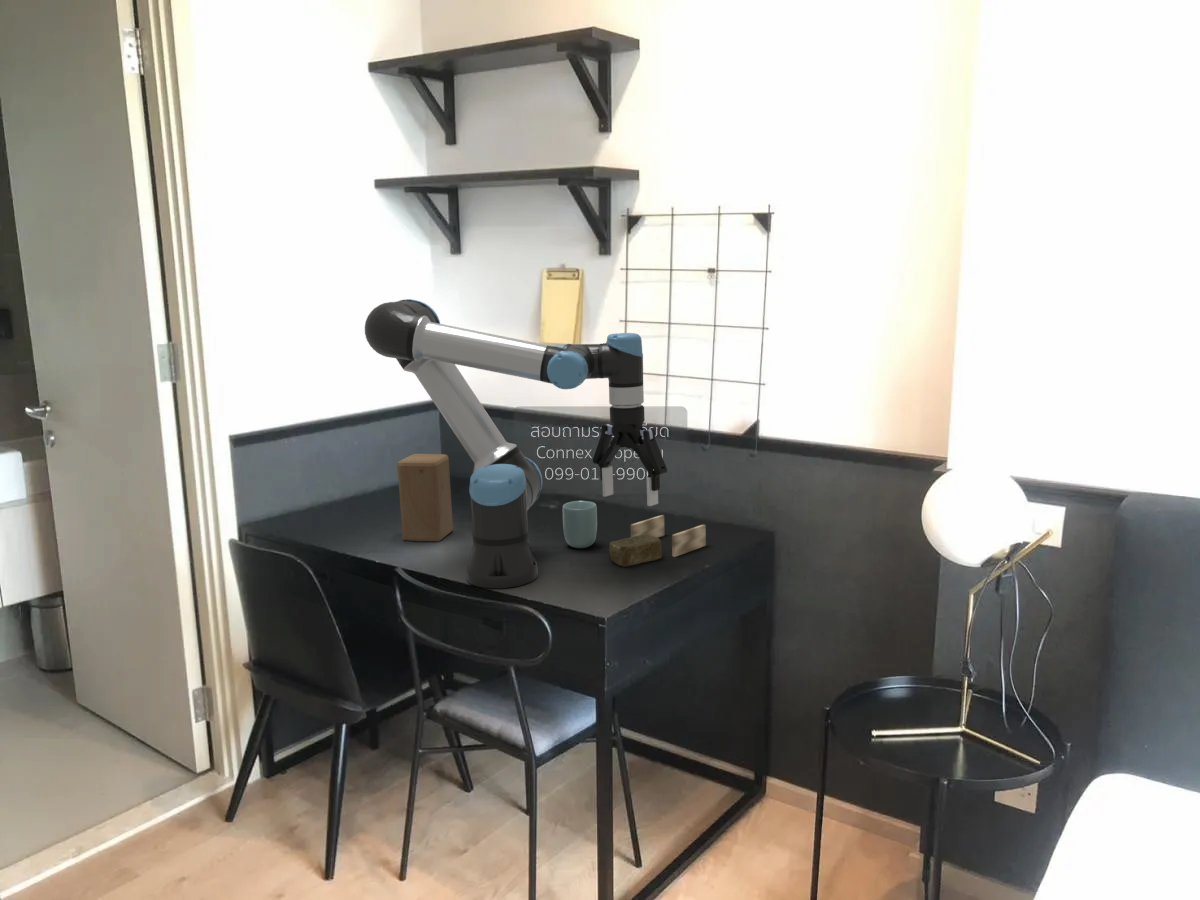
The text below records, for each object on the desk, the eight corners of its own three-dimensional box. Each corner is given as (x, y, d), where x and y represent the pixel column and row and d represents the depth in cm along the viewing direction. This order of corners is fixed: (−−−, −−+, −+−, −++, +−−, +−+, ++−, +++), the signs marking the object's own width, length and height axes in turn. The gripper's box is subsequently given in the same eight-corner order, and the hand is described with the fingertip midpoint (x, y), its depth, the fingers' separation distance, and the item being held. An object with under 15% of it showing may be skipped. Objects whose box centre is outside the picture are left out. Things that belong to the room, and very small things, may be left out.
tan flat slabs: (674, 557, 206) (674, 535, 205) (630, 545, 216) (630, 524, 215) (705, 545, 214) (705, 525, 213) (662, 534, 223) (661, 514, 222)
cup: (579, 539, 222) (577, 499, 220) (604, 544, 217) (602, 503, 215) (557, 547, 216) (555, 506, 214) (582, 553, 211) (581, 511, 209)
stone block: (607, 562, 205) (607, 540, 204) (649, 552, 211) (649, 532, 210) (622, 569, 200) (622, 547, 199) (664, 559, 206) (664, 537, 205)
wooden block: (439, 542, 222) (434, 462, 218) (401, 541, 224) (395, 461, 220) (454, 531, 232) (449, 453, 228) (417, 529, 234) (411, 452, 230)
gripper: (682, 407, 193) (684, 505, 197) (598, 398, 210) (602, 488, 214) (658, 412, 188) (661, 512, 192) (574, 402, 205) (578, 494, 209)
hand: (629, 500), depth 203 cm, fingers open, 13 cm apart
